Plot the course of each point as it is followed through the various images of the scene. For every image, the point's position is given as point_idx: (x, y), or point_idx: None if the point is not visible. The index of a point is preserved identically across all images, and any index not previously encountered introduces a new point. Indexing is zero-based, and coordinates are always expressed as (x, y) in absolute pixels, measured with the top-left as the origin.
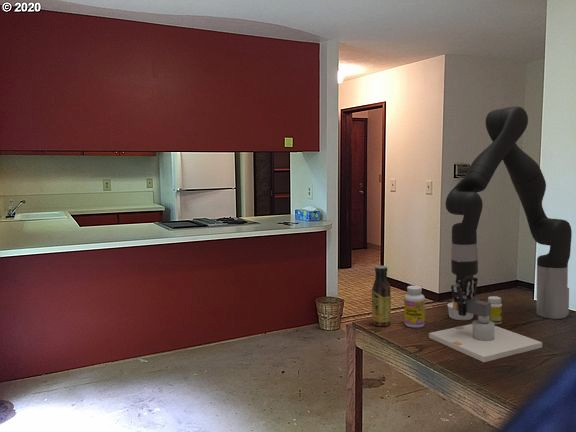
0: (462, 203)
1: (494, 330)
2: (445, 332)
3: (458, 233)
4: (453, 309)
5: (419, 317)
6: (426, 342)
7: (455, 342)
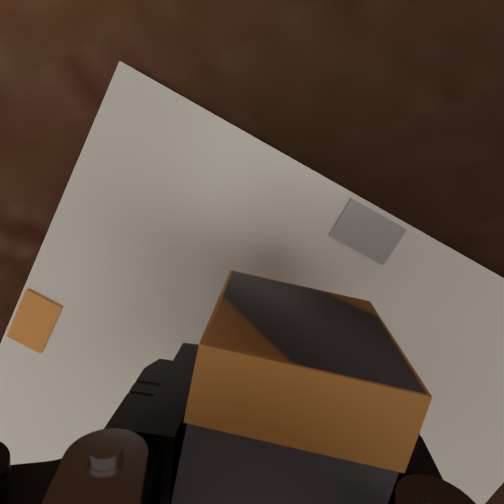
0: None
1: None
2: (206, 174)
3: None
4: (230, 277)
5: None
6: (36, 93)
7: (31, 311)
